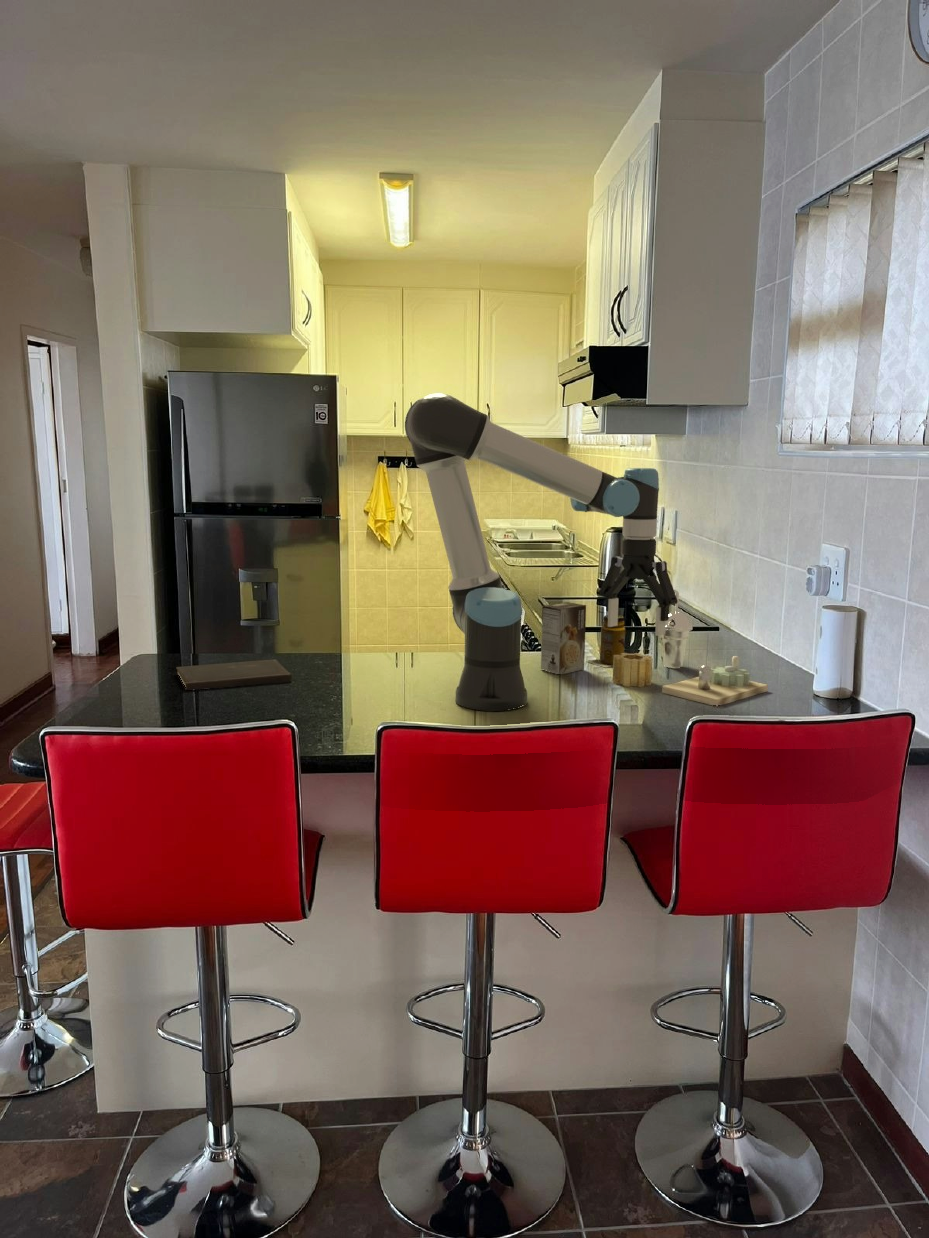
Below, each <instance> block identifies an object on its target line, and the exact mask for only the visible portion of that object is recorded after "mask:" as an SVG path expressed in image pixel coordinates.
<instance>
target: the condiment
mask: <svg viewBox="0 0 929 1238" xmlns="http://www.w3.org/2000/svg"><path fill="white" fill-rule="evenodd" d="M602 619H603V621H602V625H601V628H600V641H599V643H600V644H599V659H597V658H596V659H593V660H590V659H589V660H587V662H588V663H590V664H593V665H595V666H599V667H603V668H611V667H613V658H614V655H615V654H617V655H621V653H625V646H626V645H625V642H626V640H625V638H626V627H625V617H624V616H623V615H619V614H618V626H613V627H608V614H605V615H604V616H603V618H602Z"/></svg>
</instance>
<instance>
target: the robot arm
mask: <svg viewBox="0 0 929 1238" xmlns="http://www.w3.org/2000/svg"><path fill="white" fill-rule="evenodd" d="M404 431H405V435H406V437H407V439H408V441H409V442H410V444H411V448H412V453H413V456H414V461H415V464H416V467H418V468H419V469H420V470H422V471H424V473H425V474H426V478H427V483H428V486H429V489H430V494H431V497H432V502H433V506H434V510H435V514H436V516H437V521H438V525H439V528H440V534H441V535H442V536H441V537H442V540H443V544H444V548H445V551H446V556H447V560H448V563H449V564H448V565H449V567H450V571H451V576H452V580H451V582H450V583H449V585H448V591H449V595H450V599H451V603H452V617H453V621H454V622H455V624H456V626H457V628H458V629H459V630H460V631H461V632H462V633H463V634H464V666H463V670H462V672H461V676H460V679H459V682H458V686H457V687H456V689H455V703H456V704H457V705H459V706H460V707H463V708H466V709H471V710H476V711H483V712H485V711H486V712H502V711H503V710H506V711H509V710H508V709H513V708H518V707H520V706H522V705H525V704H526V702H527V703H528V689H527V688H526V686H525V682H524V676H523V673H522V670H521V641H522V640H521V637H522V636H521V635H522V615H523V607H522V599H521V596H520V595H519V594H518V593H516V592H515V591H513V590H510V589H508V590H507V588H503V585H502V582H501V581H502V580H501V578H500V574H499V573H498V572H496V571H495V570H493V569H492V568H491V565H490V562H489V556H488V552H487V548H486V545H485V541H484V536H483V532H482V528H481V524H480V520H479V515H478V512H477V511H478V510H477V508H476V505H475V500H474V495H473V491H472V488H471V483H470V479H469V476H468V471H467V467H466V464H465V462H466V460H468V461H471V460H474V459H478V460H481V461H483V462H485V463H488V464H490V465H491V466H494V467H496V468H499V469H501V470H504V471H506V472H509V473H510V474H513V475H516V476H518V477H520V478H522V479H525V480H526V481H527V480H528V481H530V482H532V483H535V484H537V485H540V486H542V487H544V488H546V489H549V490H552V491H554V492H556V493H558V494H560V495H563V496H565V497H566V498H567V497H568V498H570V506H571V508H572V509H573V511H575V512H584V513H589V512H590V513H591V512H593V513H594V512H595V513H600V514H605V515H609V516H612V517H615V518H622V517H623V518H622V536H623V537H624V538H622V541H621V542H622V543H621V544H622V545H621V553H622V555H623V557H622V556H621V555H619V556H612V557H611V560H610V566H609V568H608V571H607V573H606V576H605V578H604V580H603V582H602V584H601V587H600V589H599V590H598V592H599V593H598V594H599V595H601V596H604V597H605V599H606V600H605V602H606V603H605V606H606V607H605V608H606V609H605V610H606V612H607V615H608V627H613V626H618V615H619V599H620V598H618V594H619V593H620V591H621V590H622V589H623V588H624V586H625V585H626V584H627V583H628V581H629V580H630V579H636V580H639V581H642V580H643V582H644V583H646V585H647V587H648V588H649V591H650V592H651V593H652V594H653V597H654V598H655V600H656V602H657V603H658V606H656V609H655V610H656V611H655V632H654V636H655V637H659V636H660V637H661V635H665V631H666V621H668V619H669V613H670V607H671V606H673V605H675V604H677V602H678V603H679V601H677V598H676V593H675V592H674V590H675V589H674V586H673V584H672V581H671V578H670V576H669V573H668V564H667V561H665V560H661V561H655V556H656V553H657V540H656V538H655V537H656V536H657V530H658V527H657V526H658V507H659V506H658V505H659V491H660V483H659V482H660V479H659V472H658V470H657V469H656V468H651V467H632V468H631V467H627V468H626V469H625V470H624V474H623V476H621V477H620V476H617V477H616V476H615V475H611V474H609V473H607V472H604V471H602V470H601V469H598V468H596V467H593V466H591V465H589V464H587V463H585V462H582V461H580V460H577V459H575V458H573V457H571V456H568V455H566V454H564V453H561V452H559V451H558V450H556V449H552V448H550V447H548V446H546V445H544V444H541V443H538V442H537V441H534V440H532V439H530V438H527V437H525V436H523V435H522V434H521V435H520V434H518V433H516V432H514V431H511V430H510V429H507V428H504V427H503V426H500V425H497V424H496V423H493V422H492V421H491V419H490V417H489V415H488V414H485V413H484V412H482V411H479V410H477V409H475V408H473V407H471V406H470V405H468V404H466V403H464V402H462V401H461V400H459V399H457V398H455V396H452V395H449V394H445V393H430V394H428V395H425V396H424V397H420V398H419V399H418V400H416V401H415V402H414V403H413V404H411V406H410V407H409V409H408V411H407V413H406V416H405V420H404ZM622 567H623V569H622V571H621V568H622ZM620 571H621V572H620ZM654 571H655V572H654ZM655 573H656V574H655ZM618 575H619V576H618ZM617 577H618V578H617ZM526 705H527V704H526ZM526 705H525V706H526ZM518 709H519V708H518ZM513 710H514V709H513ZM503 712H504V711H503Z"/></svg>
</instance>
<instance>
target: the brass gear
mask: <svg viewBox="0 0 929 1238" xmlns="http://www.w3.org/2000/svg"><path fill="white" fill-rule="evenodd" d="M653 663H654V662H653V658H652V656H651V655H649V654H648V655H644V654H642V653H639V652H638V653H637V652H635V653H627V652H624V653H621V655H617V654H615V655H614V658H613V666H612V684H615V685H623V687H626V688H630V687H638V688H644V687H645V686H651V685H652V679H653V678H652V677H653Z"/></svg>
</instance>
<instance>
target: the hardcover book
mask: <svg viewBox="0 0 929 1238" xmlns="http://www.w3.org/2000/svg"><path fill="white" fill-rule="evenodd" d="M176 670H177V675H179V676H180V678H181V679H180V678H179V679H180V681H181V680H182V681H181V683H182V682H183V683H182V685H183V684H184V685H185V687H186V688H185V687H184V688H185V691H186V690H193V689H201V688H202V689H203V688H219V689H224V688H223V687H230V688H232V687H231V686H241V687H243V686H242V685H252V686H258V685H257V684H263V685H273V684H283V683H284V682H285V683H292V674H291V673H290V672H289V671H288V669H286V668H285V667H284V666H283V665H282V664H281V663H280V662H279V661H278V660H277V659H275V658H274V659H272V658H271V659H263V660H250V661H249V660H248V661H238V662H226V663H224V662H222V663H214V664H212V663H211V664H210V663H209V664H200V665H190V666H189V665H187V666H176ZM179 676H178V677H179ZM255 684H256V685H255ZM184 685H183V686H184Z"/></svg>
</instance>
